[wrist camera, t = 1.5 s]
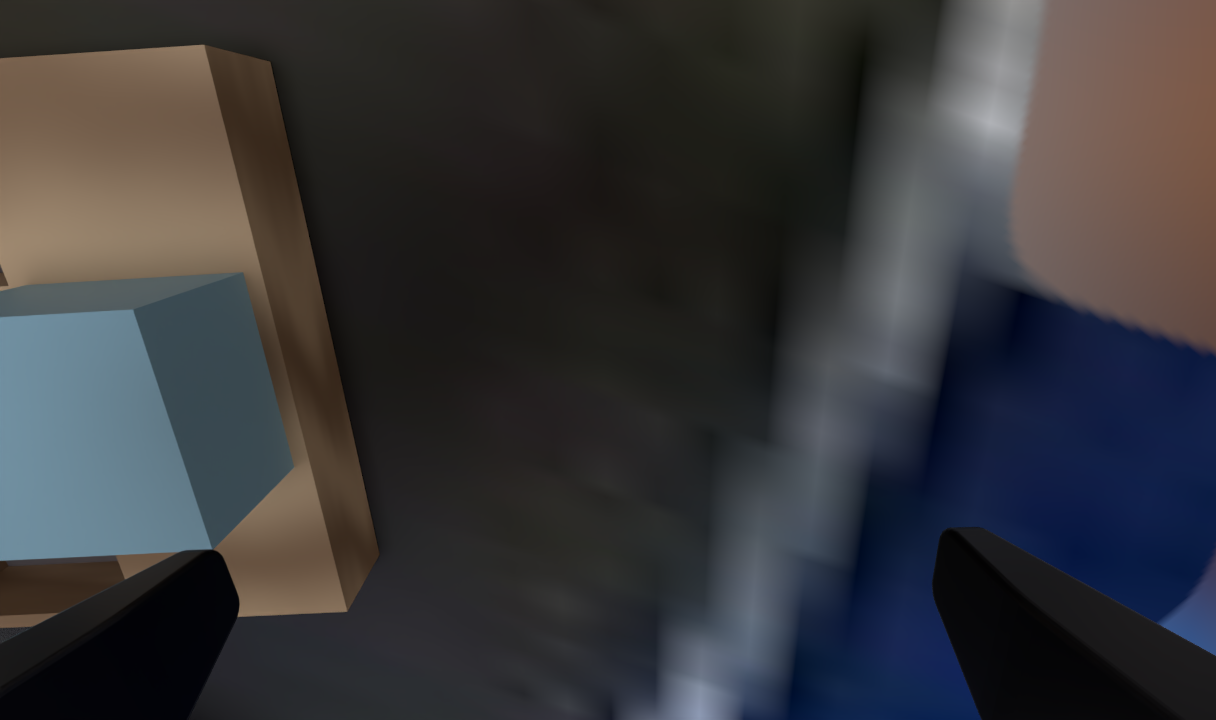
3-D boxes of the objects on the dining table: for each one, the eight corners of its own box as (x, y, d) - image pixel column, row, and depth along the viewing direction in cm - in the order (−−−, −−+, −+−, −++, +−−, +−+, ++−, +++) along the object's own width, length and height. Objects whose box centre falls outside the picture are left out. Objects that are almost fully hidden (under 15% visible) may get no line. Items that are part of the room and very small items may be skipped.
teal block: (294, 467, 18) (212, 550, 14) (101, 477, 18) (-30, 561, 15) (243, 272, 16) (133, 309, 13) (26, 284, 16) (-147, 325, 13)
